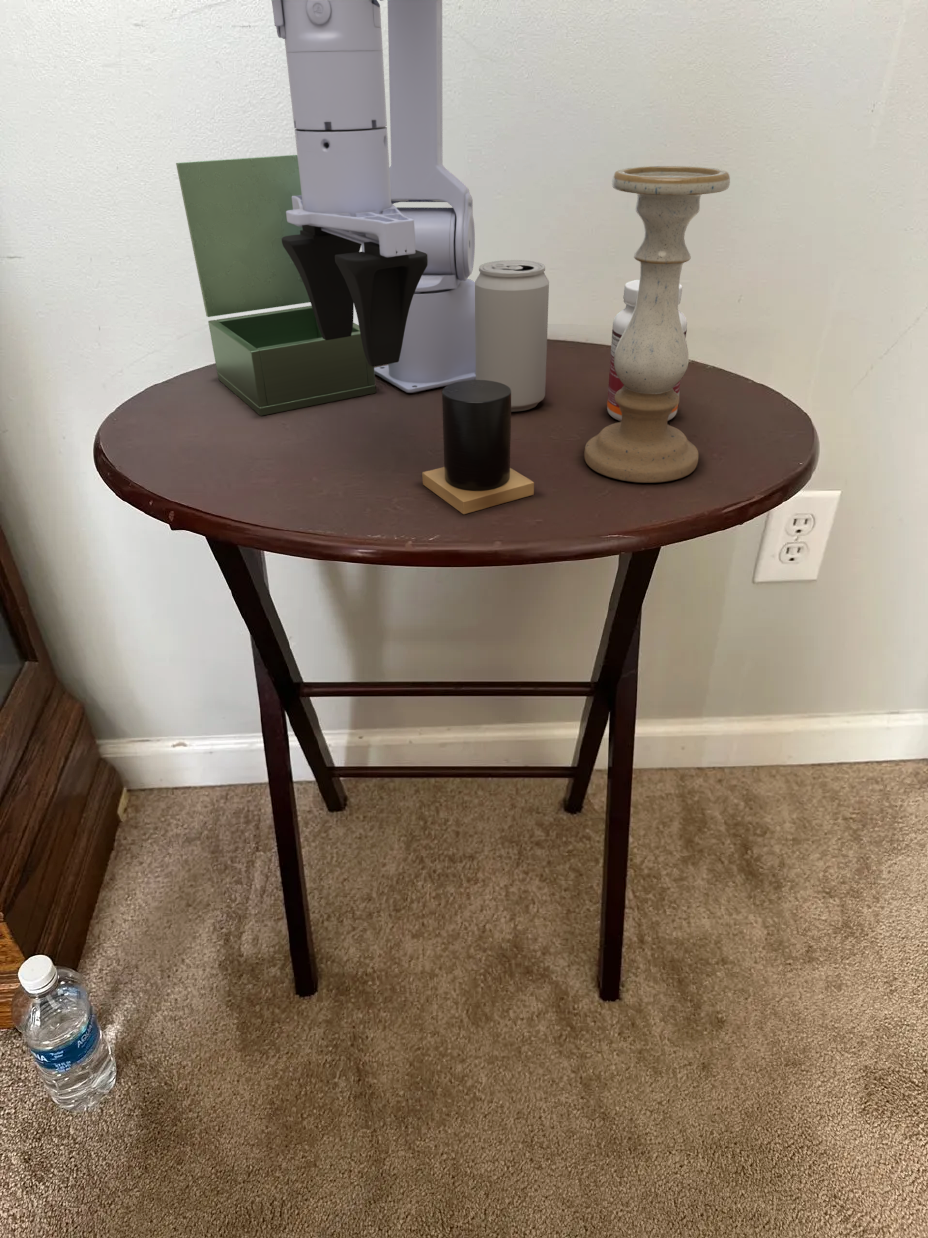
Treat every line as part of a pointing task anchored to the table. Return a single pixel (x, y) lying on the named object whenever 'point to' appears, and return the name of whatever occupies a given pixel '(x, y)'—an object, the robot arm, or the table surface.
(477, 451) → the cylinder
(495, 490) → the plate
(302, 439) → the table surface
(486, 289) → the beverage can
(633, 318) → the candle holder
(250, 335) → the green hinged box
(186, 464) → the table surface
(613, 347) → the pill bottle
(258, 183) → the green box lid
